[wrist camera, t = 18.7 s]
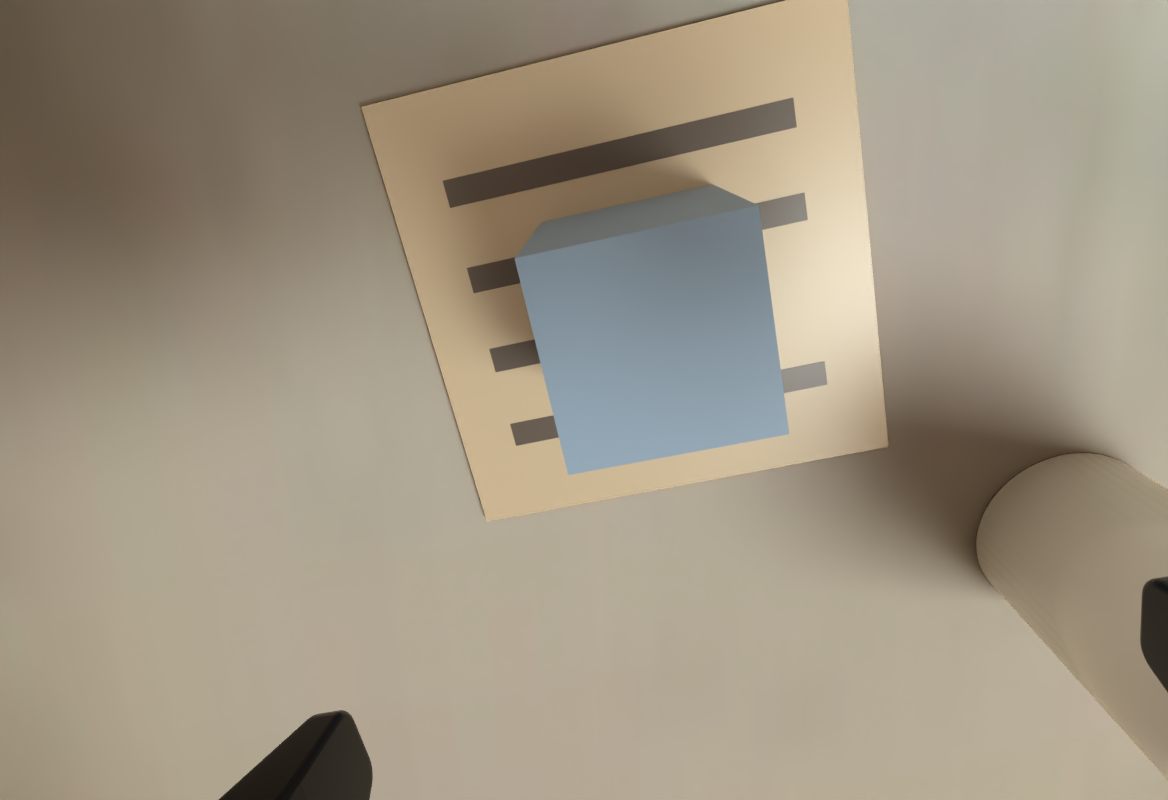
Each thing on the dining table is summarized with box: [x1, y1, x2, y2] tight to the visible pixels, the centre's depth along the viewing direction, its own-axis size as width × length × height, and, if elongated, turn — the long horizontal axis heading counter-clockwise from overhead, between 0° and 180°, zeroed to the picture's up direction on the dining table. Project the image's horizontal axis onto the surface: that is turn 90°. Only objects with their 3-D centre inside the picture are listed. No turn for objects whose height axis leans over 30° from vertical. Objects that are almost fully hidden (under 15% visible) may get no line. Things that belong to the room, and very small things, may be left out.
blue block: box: [515, 184, 789, 475], centre depth 17 cm, size 4×4×6 cm
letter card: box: [361, 0, 889, 522], centre depth 20 cm, size 12×12×1 cm
